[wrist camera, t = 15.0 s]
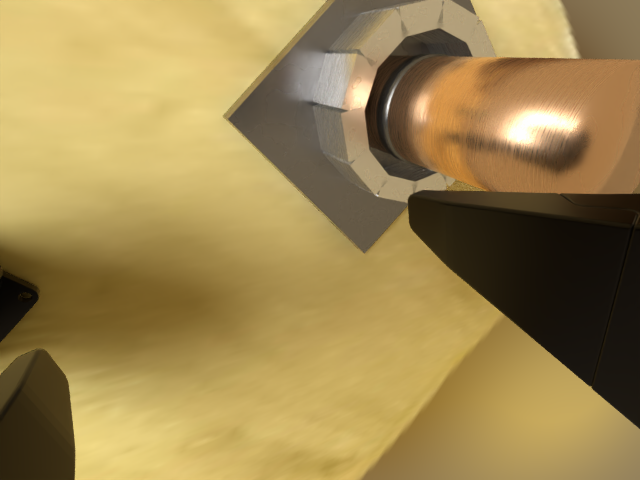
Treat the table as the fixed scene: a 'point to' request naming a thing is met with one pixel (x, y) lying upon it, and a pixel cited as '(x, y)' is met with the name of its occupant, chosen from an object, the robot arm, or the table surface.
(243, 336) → the table surface
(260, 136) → the plate
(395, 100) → the tan cylinder
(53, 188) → the table surface
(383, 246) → the table surface
